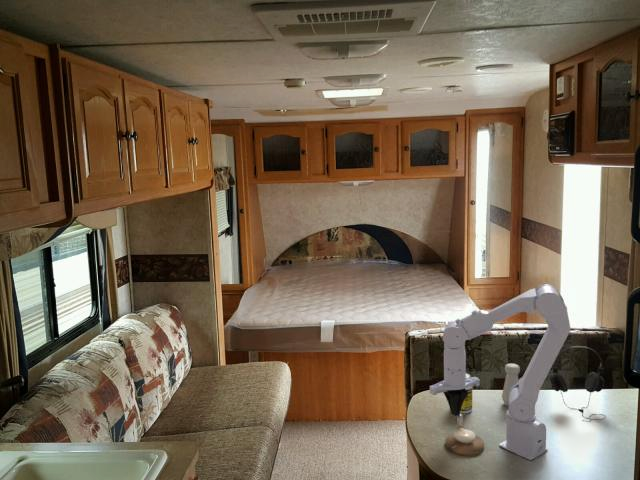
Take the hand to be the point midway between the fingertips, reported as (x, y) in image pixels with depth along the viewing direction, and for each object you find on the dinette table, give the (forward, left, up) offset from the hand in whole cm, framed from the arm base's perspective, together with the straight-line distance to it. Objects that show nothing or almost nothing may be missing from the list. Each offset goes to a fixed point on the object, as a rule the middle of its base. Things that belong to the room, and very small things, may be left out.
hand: (455, 414), depth 149 cm
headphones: (-14, -40, -8) cm, 43 cm away
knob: (-3, 0, -5) cm, 6 cm away
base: (-4, +1, -7) cm, 8 cm away
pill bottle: (+10, -16, -8) cm, 20 cm away
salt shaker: (+2, -30, -8) cm, 31 cm away
